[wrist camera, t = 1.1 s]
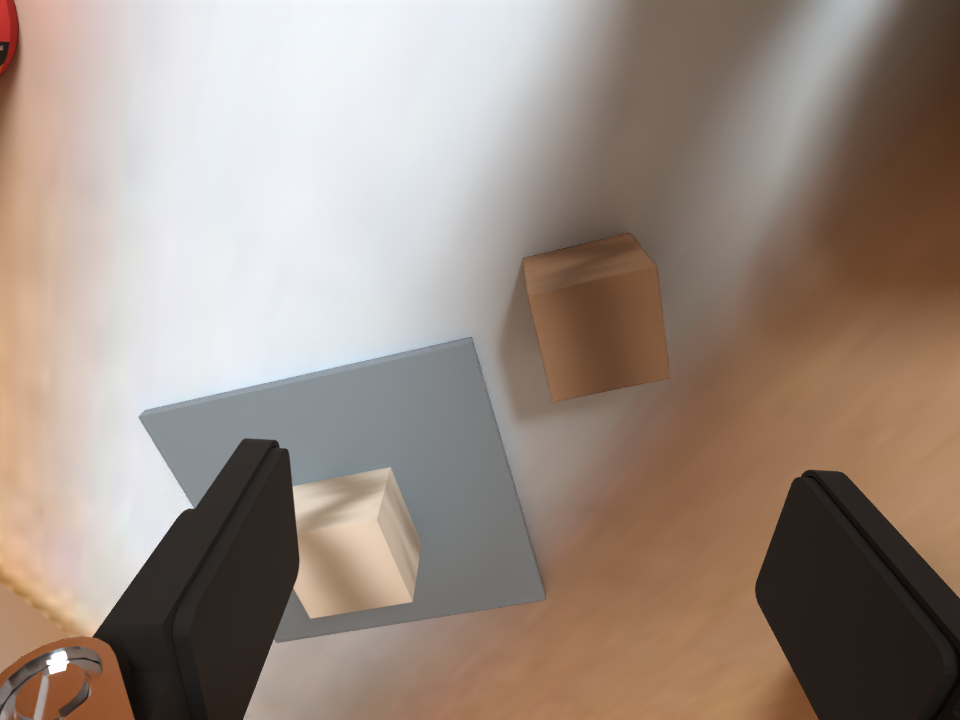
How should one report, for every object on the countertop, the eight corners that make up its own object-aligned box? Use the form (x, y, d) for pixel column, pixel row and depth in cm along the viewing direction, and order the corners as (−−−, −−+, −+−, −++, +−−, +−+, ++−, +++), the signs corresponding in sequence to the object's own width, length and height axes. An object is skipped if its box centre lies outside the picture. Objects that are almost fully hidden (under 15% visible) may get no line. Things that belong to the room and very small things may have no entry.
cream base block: (390, 466, 38) (376, 519, 34) (421, 544, 41) (412, 602, 37) (292, 486, 39) (266, 540, 35) (330, 560, 42) (310, 618, 38)
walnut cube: (629, 232, 32) (656, 266, 26) (643, 329, 34) (670, 378, 29) (522, 257, 33) (527, 295, 27) (543, 350, 35) (552, 402, 30)
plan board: (471, 337, 35) (471, 342, 34) (545, 591, 44) (545, 600, 44) (145, 410, 38) (138, 417, 37) (279, 634, 47) (276, 642, 46)
